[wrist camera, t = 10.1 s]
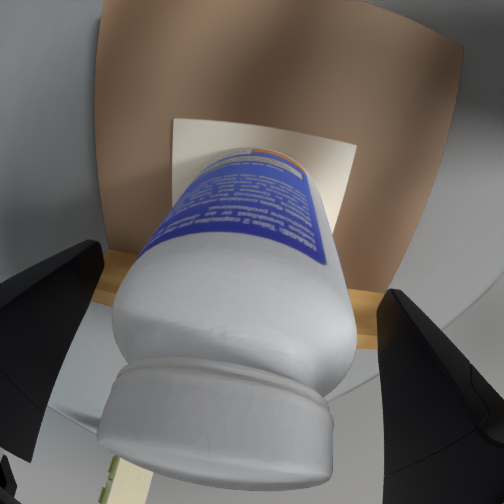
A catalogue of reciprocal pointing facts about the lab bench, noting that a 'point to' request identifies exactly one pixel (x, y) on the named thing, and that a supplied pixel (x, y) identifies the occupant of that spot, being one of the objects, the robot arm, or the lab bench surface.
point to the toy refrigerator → (125, 483)
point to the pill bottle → (233, 333)
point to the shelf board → (274, 119)
